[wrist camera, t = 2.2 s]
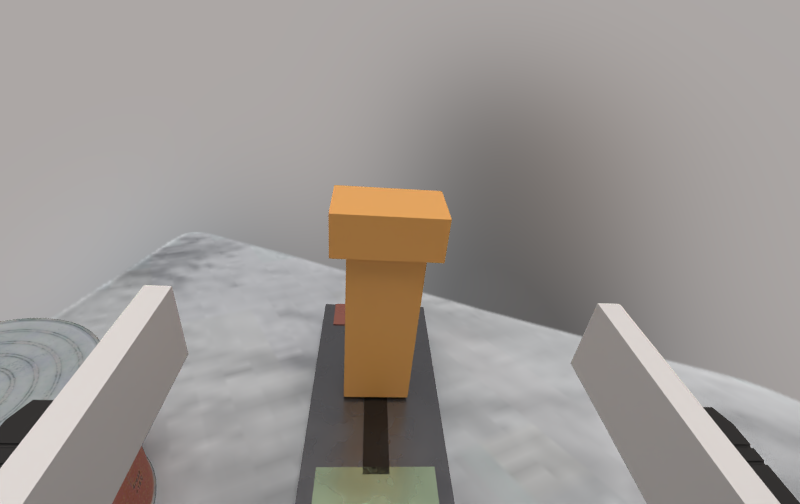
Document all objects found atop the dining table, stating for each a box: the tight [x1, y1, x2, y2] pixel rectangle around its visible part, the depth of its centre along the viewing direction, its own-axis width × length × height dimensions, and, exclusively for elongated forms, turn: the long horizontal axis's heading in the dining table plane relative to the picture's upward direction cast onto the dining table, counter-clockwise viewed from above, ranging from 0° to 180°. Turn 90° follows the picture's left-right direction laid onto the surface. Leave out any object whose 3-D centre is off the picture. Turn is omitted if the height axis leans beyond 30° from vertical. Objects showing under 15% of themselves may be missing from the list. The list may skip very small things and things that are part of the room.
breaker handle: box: [329, 185, 452, 397], centre depth 29 cm, size 4×7×16 cm, turn 93°
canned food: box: [0, 318, 156, 504], centre depth 22 cm, size 11×11×12 cm
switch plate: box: [295, 304, 454, 504], centre depth 34 cm, size 20×10×3 cm, turn 3°
